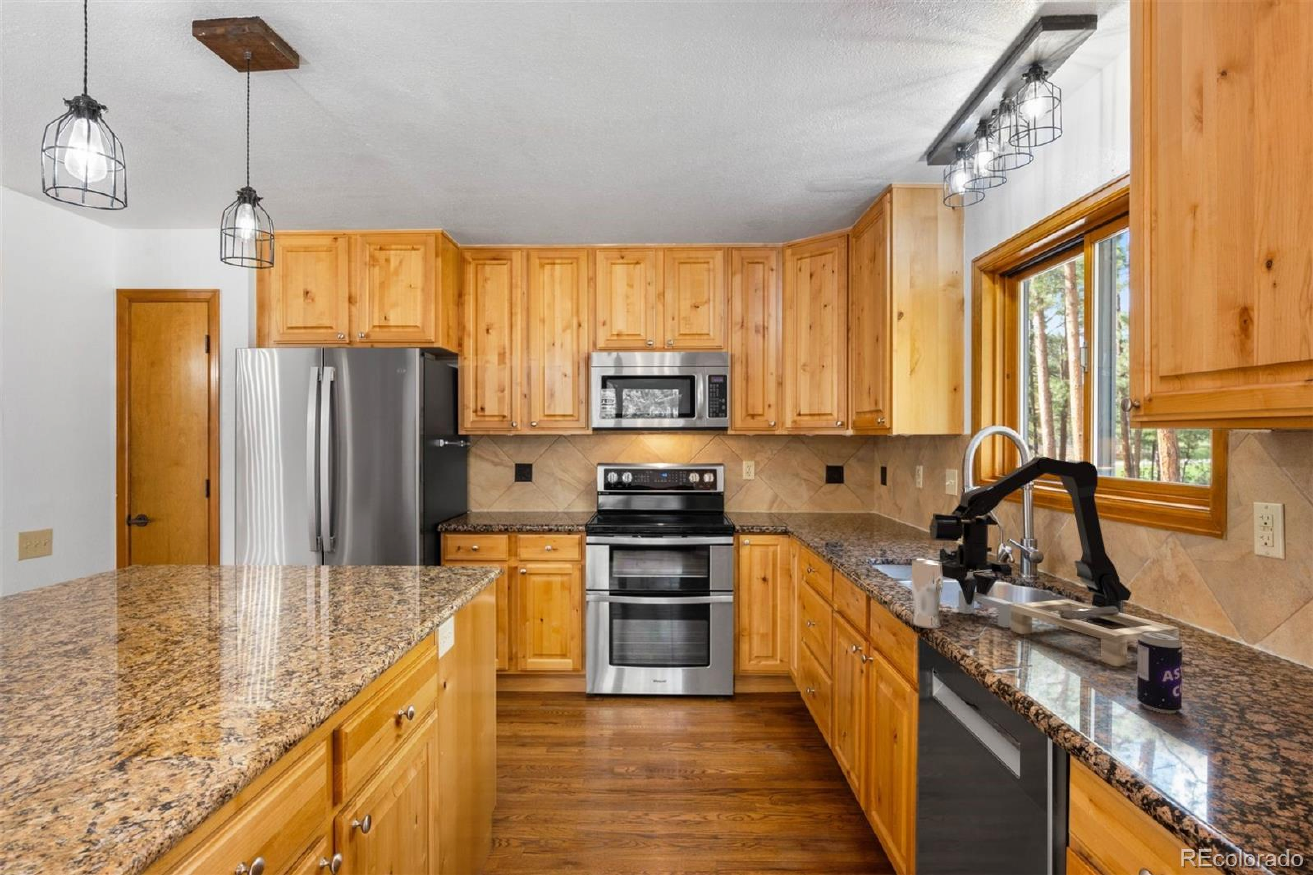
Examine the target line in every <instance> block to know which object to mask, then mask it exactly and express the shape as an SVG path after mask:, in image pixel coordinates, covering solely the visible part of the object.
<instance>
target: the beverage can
mask: <svg viewBox="0 0 1313 875" xmlns="http://www.w3.org/2000/svg"><path fill="white" fill-rule="evenodd" d="M1136 688H1137V692H1136V695H1137V696H1136V699H1137V700H1138V701H1139V703H1140V704H1142V706H1143V707H1144V708H1145V709H1148V710H1149V711H1152V710H1153V712H1155V711H1156V713H1159V712H1160V713H1159V714H1165V713H1166V714H1167V715H1171V714H1172V713H1173V714H1175V713H1176V712H1178V711H1180V710H1181V709H1182V705H1183V704H1182V701H1183V700H1182V695H1183V694H1182V693H1183V692H1182V691H1183V646H1182V644H1181V642H1180V638H1178V637H1177V636H1174V635H1171V634H1167V633H1163V632H1156V631H1142V632H1141V636H1140V637H1139V639H1138V641H1137V687H1136Z"/></svg>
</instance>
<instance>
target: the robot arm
mask: <svg viewBox="0 0 1313 875" xmlns="http://www.w3.org/2000/svg"><path fill="white" fill-rule="evenodd" d="M1046 474H1047V475H1050V476H1055V477H1059V478H1060V481H1061V483H1062V486H1063V488H1064V489H1065V490H1066V492H1067V494H1068V495H1069V496H1070V498H1071V502H1072V507H1073V512H1074V517H1075V522H1076V527H1077V532H1078V535H1079V536H1078V537H1079V541H1080V546H1081V551H1082V553H1081V554H1082V555H1081V558H1080V560H1074V565H1075V568H1076V577H1077V578H1080V581H1081V583H1083V584H1084V585H1085V587H1086V590H1087V591H1088V592H1089V593H1093V594H1092V596H1091V597H1092V598H1091V599H1092V601H1091V605H1092V606H1096V607H1108V606H1115V607H1117V608H1118V610H1119V613H1123V614H1124V601H1125V602H1126V601H1127V602H1128V601H1130V599H1131V595H1132V591H1131V590H1129V589H1128V588H1127V587H1126V586H1125V585H1124V584H1123V583H1122V582H1121V580H1120V576H1119V573H1118V571H1117V568H1116V566H1115V564H1114V563H1113V562H1112V560H1111V559H1110V557H1109V556H1108V555H1107V552H1106V546H1105V543H1104V537H1103V533H1102V528H1101V524H1100V519H1099V514H1098V508H1097V504H1096V499H1095V494H1096V491H1097V488H1098V485H1099V484H1098V482H1099V478H1098V477H1099V476H1098V469H1097V467H1096V466H1095V465H1094V464H1093V463H1092V462H1090V461H1085V460H1068V461H1065V460H1060V459H1054V458H1050V457H1048V456H1034V457H1032V459H1031V460H1029V461H1028V462H1026V463H1024V464H1023V465H1021V466H1019V467H1018V468H1016V469H1014V470H1013V471H1010V472H1009V473H1008V474H1005V475H1004V476H1002V477H1001V478H999V479H997V480H996V481H994V482H993V483H990V484H987V485H984V486H980V487H977V488H974V489H972V490H968V491H966V492H964V493H963V494H962V495H961V497H960V501H959V504H958V505H957V506H956V507H955V509H954V510H953V511H952V512H951V513H950V514H941V513H932V518H931V520H930V524H929V536H930V539H931V540H932V541H934V542H936V541H937V542H938V541H939V542H940V541H941V542H958V541H959V539H962V540H961V541H962V543H960V544H958V546H957V549H956V550H951V549H950V548H949V547H947V548H945V547H944V548H940V549H939V559H940V562H942V567H943V578H949V579H952V580H956V581H957V583H958V584H959V586H960V590H962V592H963V595H964V597H965V600H966V603H967V604H968V605H971V604H972V601H973V597H974V592H978V593H981V594H985V595H989V592H990V591H991V589H992V587H993V586H994V584H995V583H996V582H997V581H998V580H1000V577H997V576H995V573H999V574H1000V575H1001V576H1002V577H1008V576H1012V574H1013V569H1012V568H1013V567H1012V566H1011V565H1010V563H1006V562H1001V561H997V560H988V557H989V553H991V552H993V549H992V548H993V547H991V546H989V526H998V524H999V523H998V521H996V520H994V518H993V517H992V516H991V514H990V513H991V512H992V511H994V509H996V507H998V506H999V504H1000V503H1001V502H1002V500H1004V499H1005V498H1006V497H1007V496H1009V495H1011V494H1013V493H1014V492H1016V491H1018V490H1019V489H1021V488H1023V487H1024V486H1027V484H1030V483H1031V482H1034V481H1035V480H1037V479H1038V478H1040V477H1041V476H1043V475H1046ZM988 552H989V553H988ZM943 562H944V563H943ZM976 604H979V605H982V603H979V602H976ZM1086 619H1088V620H1091V621H1095V622H1097V623H1101V624H1105V625H1109V626H1117V625H1118V626H1119V625H1122V624H1121V623H1117V622H1114V621H1110V620H1107V619H1103V618H1099V617H1095V618H1086Z"/></svg>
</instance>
